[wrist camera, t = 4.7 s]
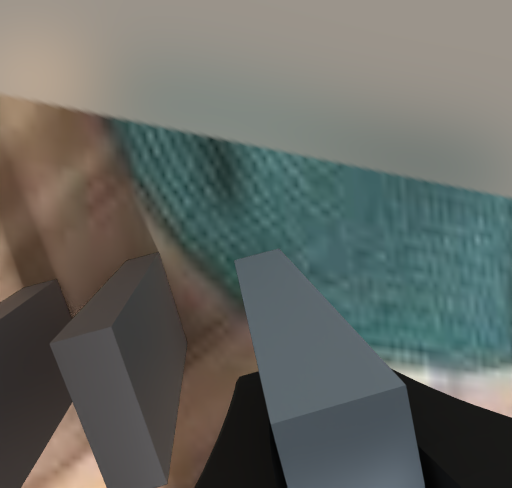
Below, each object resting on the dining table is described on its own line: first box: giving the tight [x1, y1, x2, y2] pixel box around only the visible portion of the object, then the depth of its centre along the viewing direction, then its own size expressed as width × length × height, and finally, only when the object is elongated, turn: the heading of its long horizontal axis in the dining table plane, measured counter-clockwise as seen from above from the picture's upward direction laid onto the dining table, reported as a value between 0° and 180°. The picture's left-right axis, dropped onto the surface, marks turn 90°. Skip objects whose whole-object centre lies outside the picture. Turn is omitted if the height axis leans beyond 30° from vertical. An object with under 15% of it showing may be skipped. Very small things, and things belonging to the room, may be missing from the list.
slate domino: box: [234, 249, 425, 488], centre depth 9 cm, size 5×2×9 cm, turn 14°
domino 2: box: [49, 252, 187, 488], centre depth 15 cm, size 5×2×9 cm, turn 14°
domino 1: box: [0, 279, 72, 488], centre depth 14 cm, size 5×2×9 cm, turn 14°
